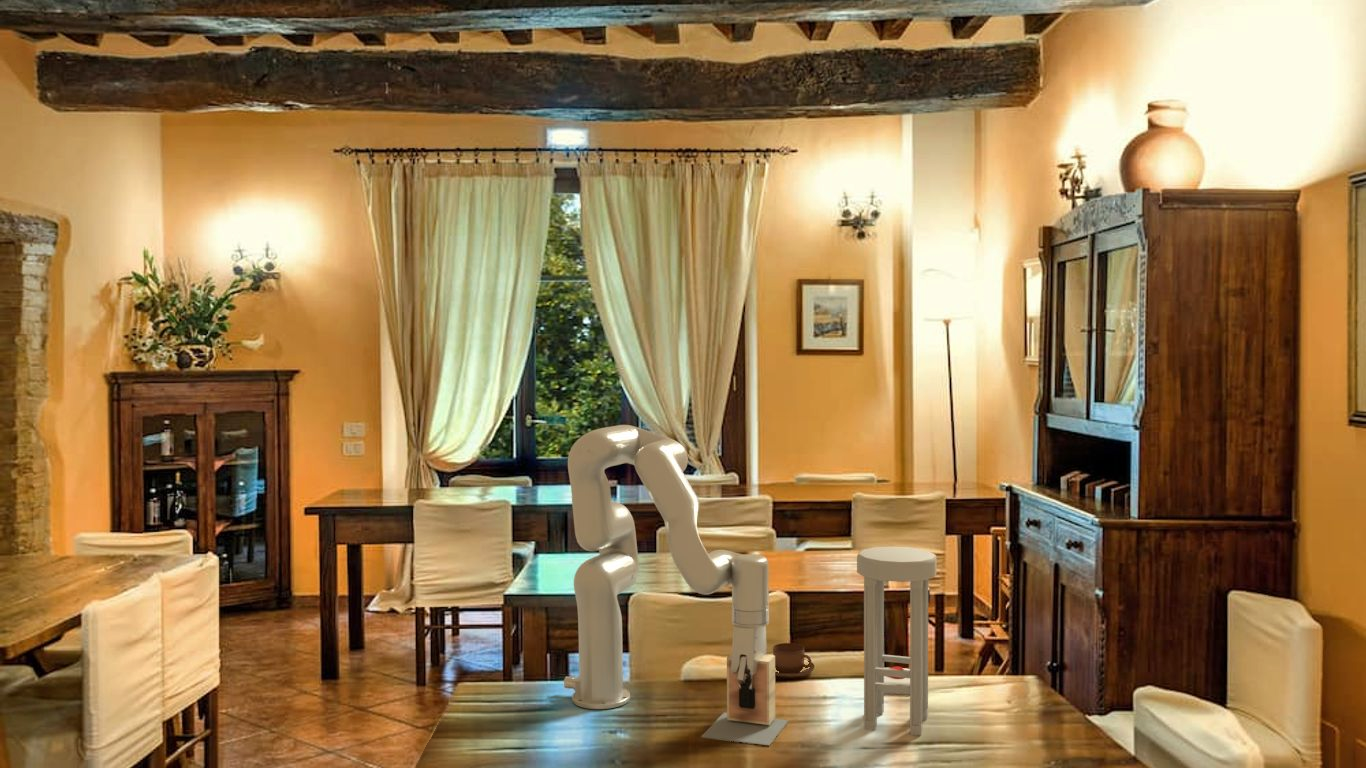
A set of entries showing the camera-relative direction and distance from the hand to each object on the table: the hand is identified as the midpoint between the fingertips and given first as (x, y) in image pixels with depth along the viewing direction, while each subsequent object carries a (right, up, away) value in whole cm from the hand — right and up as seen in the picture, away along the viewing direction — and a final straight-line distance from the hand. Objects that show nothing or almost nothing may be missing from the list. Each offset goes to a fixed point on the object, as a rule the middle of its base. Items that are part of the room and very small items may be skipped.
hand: (750, 702), depth 221 cm
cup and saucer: (+11, -3, +32) cm, 34 cm away
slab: (0, -3, 0) cm, 3 cm away
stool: (+30, -4, 0) cm, 30 cm away
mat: (-1, -4, -4) cm, 6 cm away
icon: (+33, -3, +22) cm, 40 cm away
